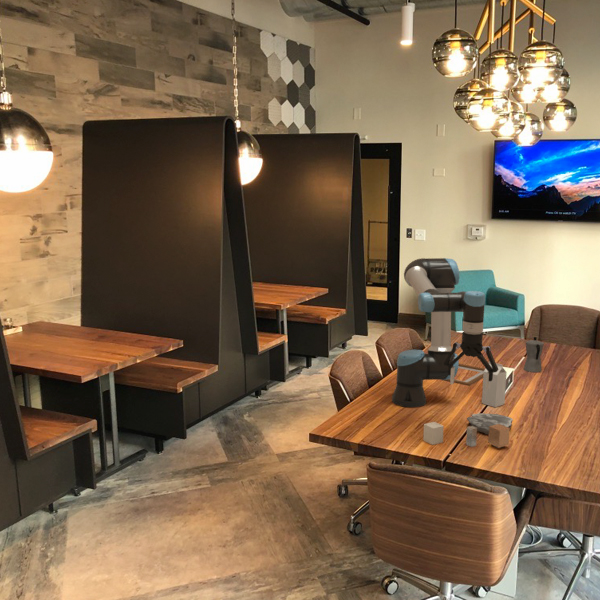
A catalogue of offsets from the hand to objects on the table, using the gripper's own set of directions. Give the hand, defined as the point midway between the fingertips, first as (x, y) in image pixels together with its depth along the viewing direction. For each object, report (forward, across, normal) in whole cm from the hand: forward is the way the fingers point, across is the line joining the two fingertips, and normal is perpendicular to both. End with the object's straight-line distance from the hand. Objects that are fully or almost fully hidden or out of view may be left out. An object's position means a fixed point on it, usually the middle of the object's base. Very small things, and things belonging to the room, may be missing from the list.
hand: (469, 386), depth 255 cm
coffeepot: (+21, +6, +110) cm, 112 cm away
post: (+21, +3, -6) cm, 22 cm away
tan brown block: (+21, +13, -3) cm, 24 cm away
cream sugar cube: (+21, -10, -10) cm, 25 cm away
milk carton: (+21, 0, +45) cm, 50 cm away
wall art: (+21, -32, +85) cm, 93 cm away
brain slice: (+21, +5, +16) cm, 27 cm away
